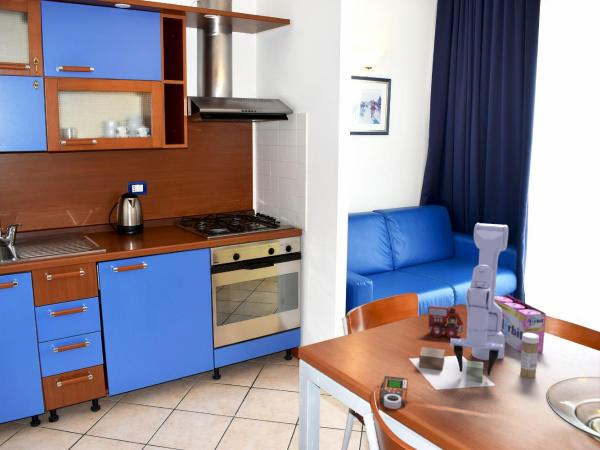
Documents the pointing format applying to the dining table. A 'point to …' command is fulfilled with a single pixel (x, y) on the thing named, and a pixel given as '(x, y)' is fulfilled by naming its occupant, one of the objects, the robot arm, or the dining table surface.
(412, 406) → the dining table surface
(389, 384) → the electronic device
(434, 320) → the toy fire truck
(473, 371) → the sage cube
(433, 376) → the build board
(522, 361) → the sprinkles bottle
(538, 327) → the gum box
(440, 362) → the walnut plinth
